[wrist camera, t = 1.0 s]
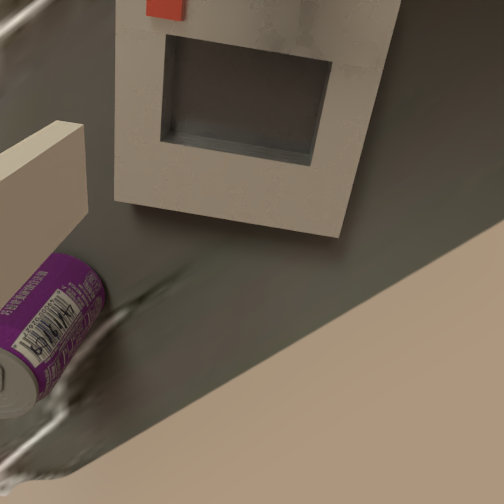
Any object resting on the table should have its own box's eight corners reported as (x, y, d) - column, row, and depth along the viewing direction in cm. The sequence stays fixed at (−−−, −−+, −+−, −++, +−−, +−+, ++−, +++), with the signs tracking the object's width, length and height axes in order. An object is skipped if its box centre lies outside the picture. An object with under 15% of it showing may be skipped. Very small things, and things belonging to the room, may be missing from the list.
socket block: (132, -64, 29) (111, -73, 25) (396, -20, 29) (410, -22, 25) (127, 185, 36) (110, 204, 33) (335, 220, 36) (339, 243, 33)
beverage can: (22, 242, 39) (-78, 332, 29) (107, 255, 39) (39, 350, 29) (30, 311, 43) (-57, 415, 32) (108, 323, 43) (47, 431, 32)
